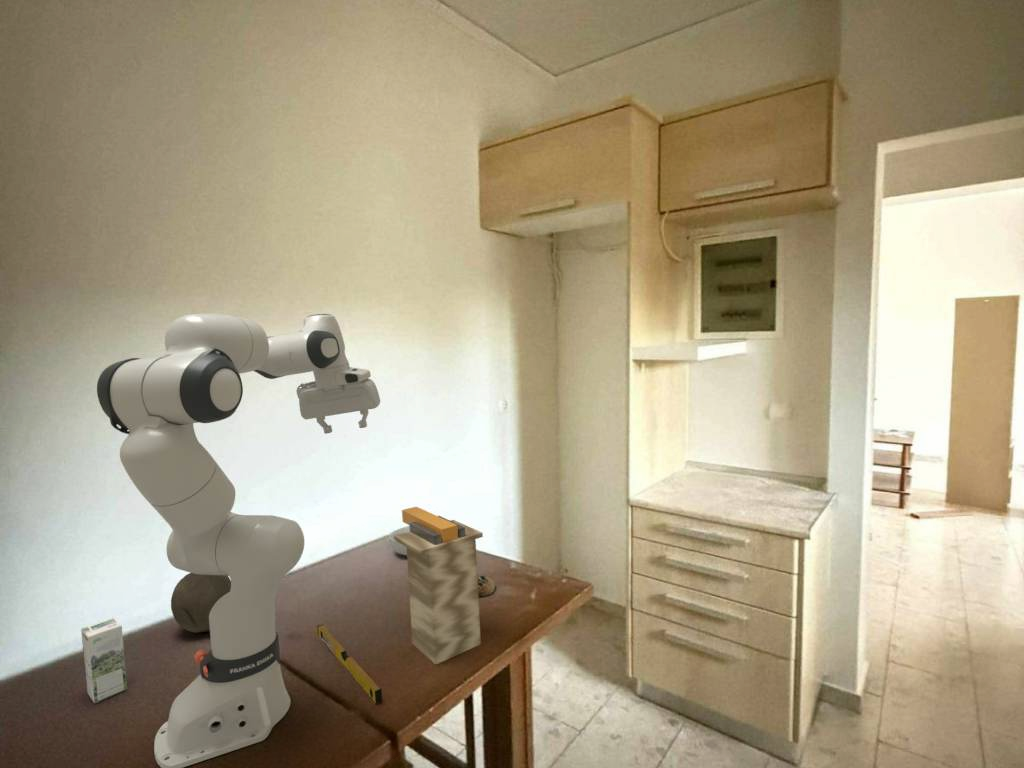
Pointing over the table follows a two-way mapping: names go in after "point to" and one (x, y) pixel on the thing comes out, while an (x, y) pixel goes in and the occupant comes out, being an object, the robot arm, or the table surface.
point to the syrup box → (104, 659)
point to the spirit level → (352, 666)
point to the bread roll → (485, 586)
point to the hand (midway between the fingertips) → (346, 430)
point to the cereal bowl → (396, 545)
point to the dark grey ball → (197, 599)
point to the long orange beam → (431, 522)
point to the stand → (442, 590)
